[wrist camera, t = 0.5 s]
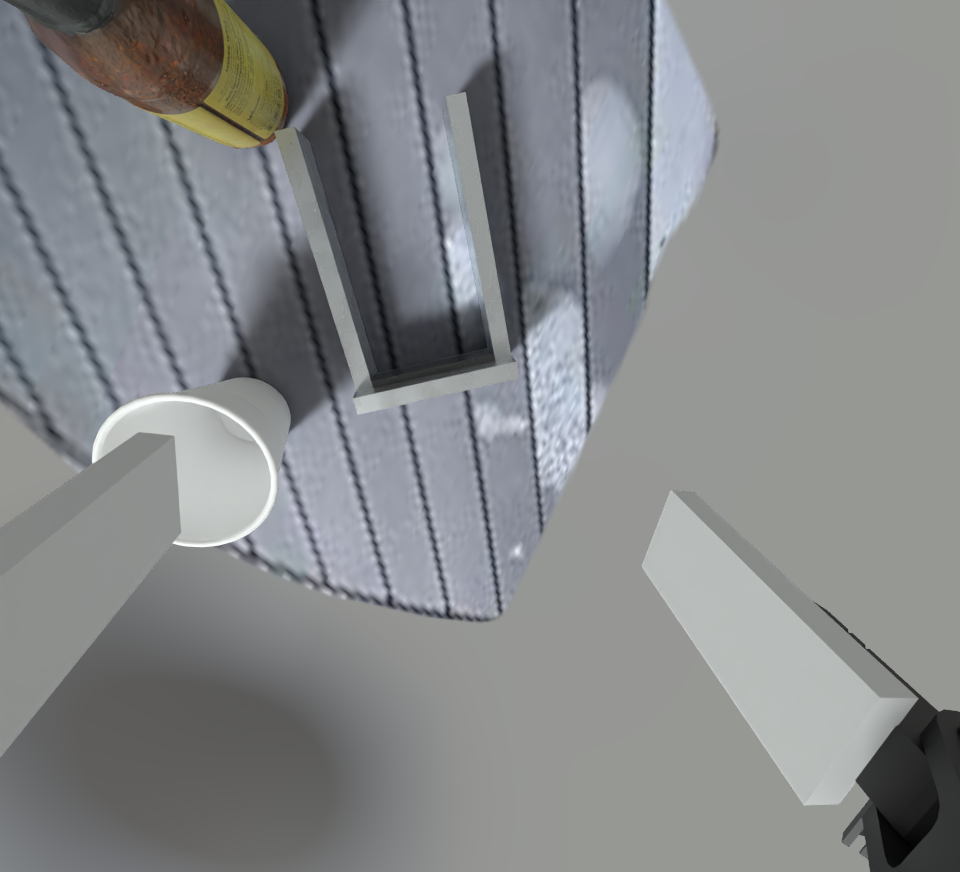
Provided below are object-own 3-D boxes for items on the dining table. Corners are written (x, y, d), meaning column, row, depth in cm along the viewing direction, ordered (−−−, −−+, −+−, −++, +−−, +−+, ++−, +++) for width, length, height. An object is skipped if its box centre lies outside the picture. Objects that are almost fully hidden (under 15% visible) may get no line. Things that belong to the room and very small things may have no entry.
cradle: (291, 145, 30) (263, 122, 25) (460, 110, 31) (469, 80, 25) (367, 390, 37) (357, 414, 32) (504, 359, 38) (519, 378, 32)
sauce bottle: (251, 14, 28) (-72, -438, 9) (312, 125, 30) (147, -65, 12) (160, 69, 28) (-318, -260, 10) (227, 174, 31) (-58, 65, 12)
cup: (181, 457, 37) (92, 535, 27) (186, 337, 34) (87, 375, 24) (307, 479, 39) (269, 558, 29) (324, 368, 36) (287, 414, 26)
